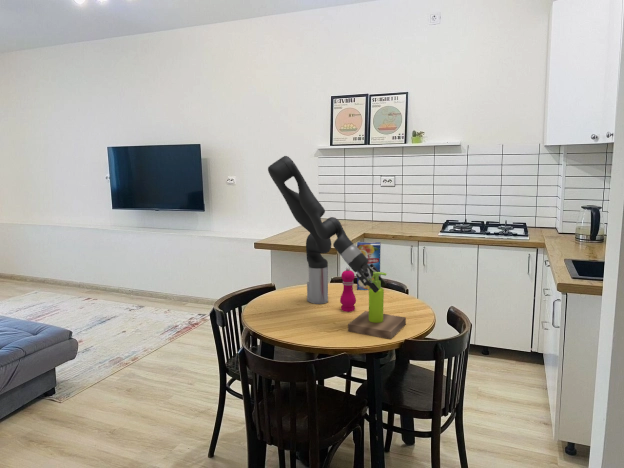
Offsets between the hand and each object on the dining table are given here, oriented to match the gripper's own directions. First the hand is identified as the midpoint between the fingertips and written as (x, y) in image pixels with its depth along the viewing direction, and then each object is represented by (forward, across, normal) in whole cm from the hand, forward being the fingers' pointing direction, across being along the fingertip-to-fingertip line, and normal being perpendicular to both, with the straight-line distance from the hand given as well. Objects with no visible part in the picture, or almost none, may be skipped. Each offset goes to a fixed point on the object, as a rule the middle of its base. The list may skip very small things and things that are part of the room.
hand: (381, 288), depth 187 cm
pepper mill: (-3, -14, -27) cm, 31 cm away
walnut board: (+11, +1, -13) cm, 17 cm away
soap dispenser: (+9, 0, -11) cm, 14 cm away
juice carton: (-6, -52, -30) cm, 60 cm away
